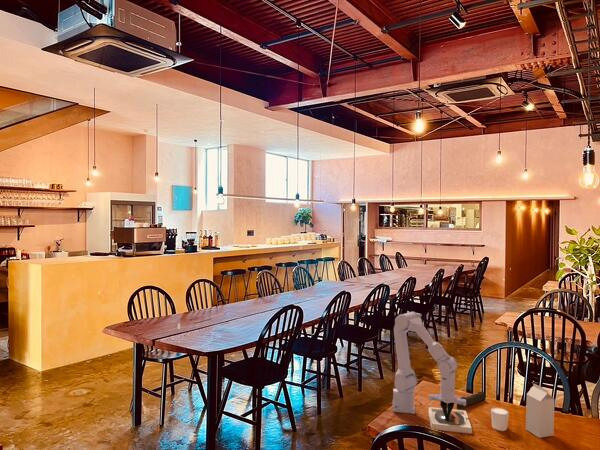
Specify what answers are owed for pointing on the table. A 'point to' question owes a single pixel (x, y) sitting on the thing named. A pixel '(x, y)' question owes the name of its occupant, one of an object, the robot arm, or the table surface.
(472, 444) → the table surface
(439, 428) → the dial plate
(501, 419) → the white cylinder
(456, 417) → the dial
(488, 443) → the table surface
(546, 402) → the milk carton
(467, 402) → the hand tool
